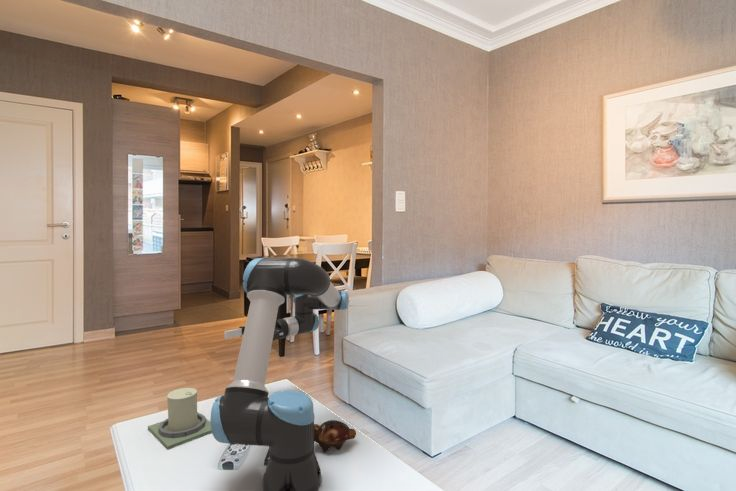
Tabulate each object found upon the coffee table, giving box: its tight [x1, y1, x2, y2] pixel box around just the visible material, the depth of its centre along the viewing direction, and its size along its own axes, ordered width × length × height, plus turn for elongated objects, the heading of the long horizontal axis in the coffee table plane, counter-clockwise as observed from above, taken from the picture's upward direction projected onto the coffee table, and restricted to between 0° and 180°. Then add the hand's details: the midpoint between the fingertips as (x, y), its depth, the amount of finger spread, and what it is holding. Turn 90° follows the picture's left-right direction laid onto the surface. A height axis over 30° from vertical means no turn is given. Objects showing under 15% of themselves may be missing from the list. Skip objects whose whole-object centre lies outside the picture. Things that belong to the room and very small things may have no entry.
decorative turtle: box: [314, 419, 357, 453], centre depth 124 cm, size 10×15×8 cm, turn 115°
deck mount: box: [147, 411, 212, 450], centre depth 134 cm, size 18×16×2 cm
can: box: [166, 387, 198, 432], centre depth 134 cm, size 9×9×12 cm
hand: (233, 338), depth 143 cm, fingers open, 13 cm apart
